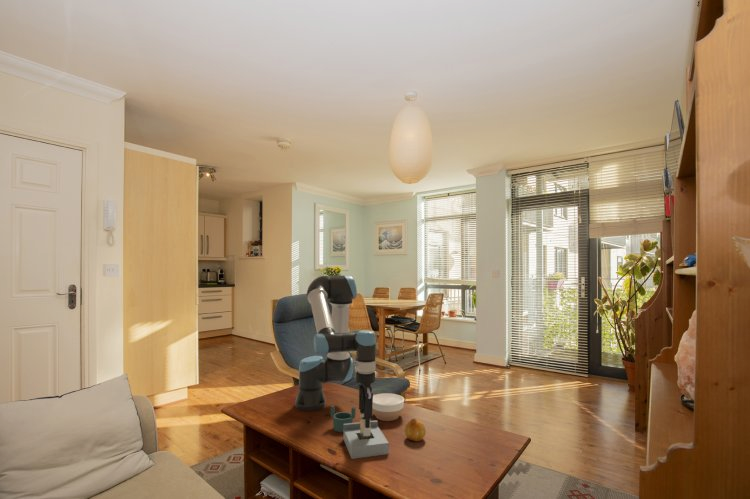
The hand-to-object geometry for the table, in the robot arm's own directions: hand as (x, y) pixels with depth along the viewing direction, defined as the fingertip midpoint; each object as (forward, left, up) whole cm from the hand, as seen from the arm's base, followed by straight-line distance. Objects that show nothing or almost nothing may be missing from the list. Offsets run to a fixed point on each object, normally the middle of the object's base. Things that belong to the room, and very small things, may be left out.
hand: (365, 432), depth 145 cm
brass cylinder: (0, 0, -3) cm, 3 cm away
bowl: (-26, +17, -5) cm, 32 cm away
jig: (0, 0, -5) cm, 5 cm away
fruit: (-1, +21, -5) cm, 22 cm away
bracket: (-19, -5, -5) cm, 20 cm away
